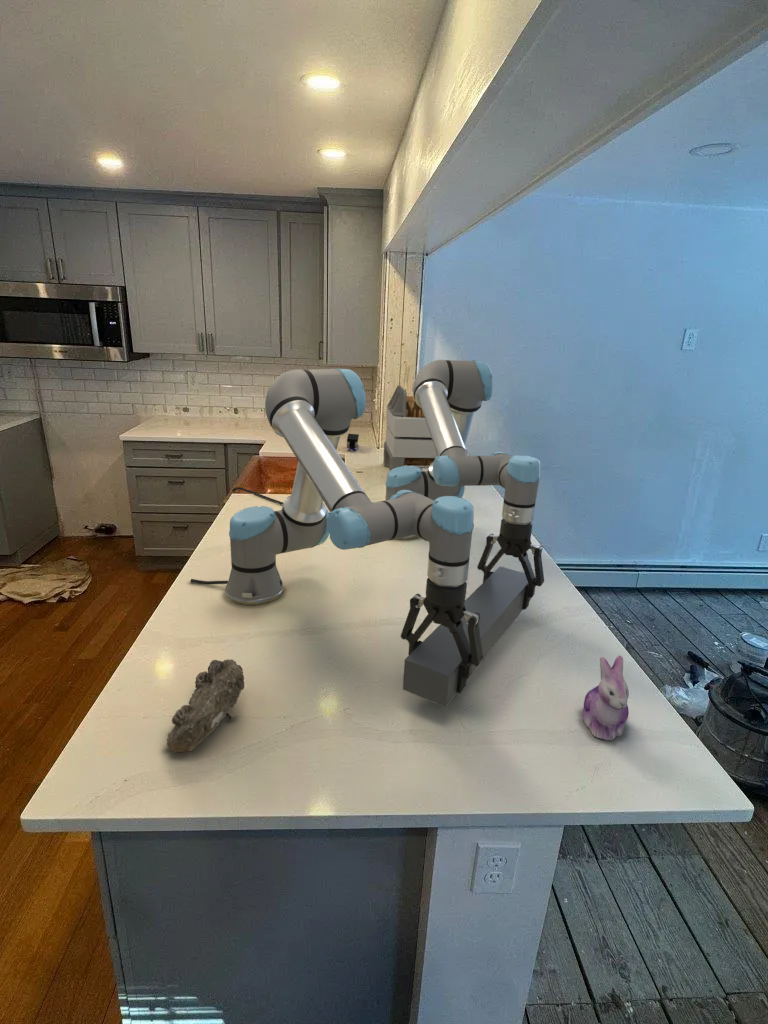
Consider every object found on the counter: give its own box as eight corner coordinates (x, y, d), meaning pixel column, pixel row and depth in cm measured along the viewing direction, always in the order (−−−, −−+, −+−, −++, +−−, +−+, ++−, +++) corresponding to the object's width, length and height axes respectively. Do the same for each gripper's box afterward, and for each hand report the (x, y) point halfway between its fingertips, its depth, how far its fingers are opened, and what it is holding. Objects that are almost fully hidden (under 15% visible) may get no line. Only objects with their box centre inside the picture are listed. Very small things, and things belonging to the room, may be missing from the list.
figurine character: (358, 454, 309) (358, 445, 322) (358, 441, 305) (359, 432, 319) (345, 454, 308) (347, 445, 322) (346, 441, 305) (347, 432, 319)
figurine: (608, 750, 104) (623, 681, 99) (567, 715, 113) (579, 651, 107) (643, 734, 108) (659, 668, 103) (601, 702, 117) (614, 640, 112)
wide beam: (497, 589, 153) (499, 566, 150) (531, 599, 148) (534, 575, 146) (402, 689, 111) (404, 659, 108) (445, 707, 106) (449, 676, 104)
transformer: (382, 463, 289) (386, 382, 275) (445, 464, 293) (451, 384, 279) (390, 482, 257) (394, 392, 243) (460, 483, 261) (468, 394, 247)
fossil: (192, 660, 117) (244, 628, 112) (224, 691, 120) (276, 661, 115) (142, 746, 98) (202, 712, 93) (182, 779, 101) (242, 748, 96)
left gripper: (385, 570, 108) (381, 670, 116) (495, 604, 97) (482, 711, 105) (405, 557, 114) (399, 653, 122) (510, 588, 103) (496, 690, 111)
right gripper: (469, 514, 140) (461, 595, 148) (558, 535, 129) (544, 620, 137) (480, 506, 146) (472, 584, 154) (566, 525, 136) (553, 608, 143)
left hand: (437, 680), depth 113 cm, fingers closed on wide beam, 9 cm apart
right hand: (506, 601), depth 145 cm, fingers closed on wide beam, 9 cm apart
